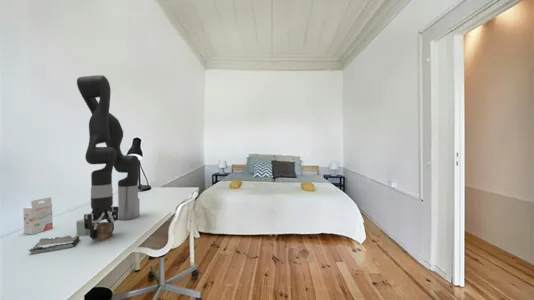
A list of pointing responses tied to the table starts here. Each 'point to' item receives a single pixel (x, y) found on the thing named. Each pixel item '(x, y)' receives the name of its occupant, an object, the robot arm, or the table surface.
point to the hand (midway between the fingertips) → (102, 235)
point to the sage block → (82, 228)
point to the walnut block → (104, 231)
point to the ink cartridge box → (38, 216)
